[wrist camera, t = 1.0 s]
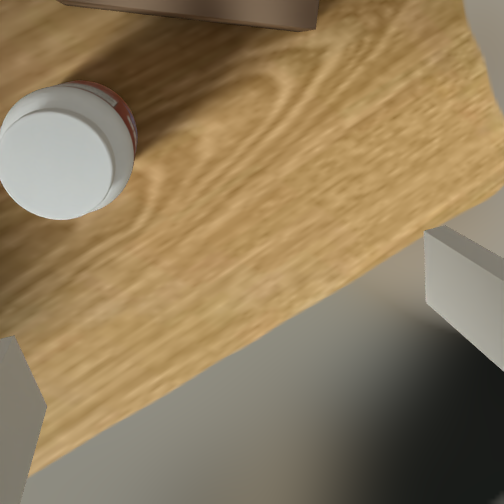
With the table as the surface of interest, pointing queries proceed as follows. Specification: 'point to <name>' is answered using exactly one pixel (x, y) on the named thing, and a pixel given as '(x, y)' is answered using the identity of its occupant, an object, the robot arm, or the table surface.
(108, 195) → the pill bottle
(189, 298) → the table surface
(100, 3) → the bore block
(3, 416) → the robot arm
